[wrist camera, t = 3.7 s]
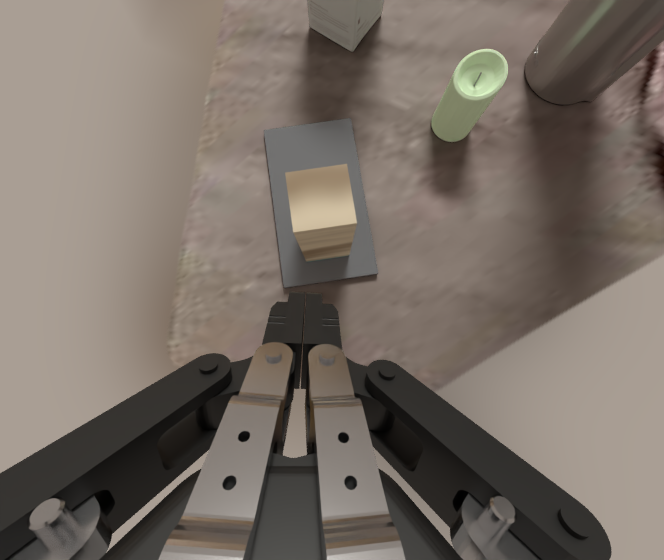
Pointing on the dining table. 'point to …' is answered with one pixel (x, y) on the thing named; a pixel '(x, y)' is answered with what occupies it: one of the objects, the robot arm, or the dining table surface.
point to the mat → (287, 156)
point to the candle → (469, 94)
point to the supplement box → (344, 19)
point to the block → (322, 211)
